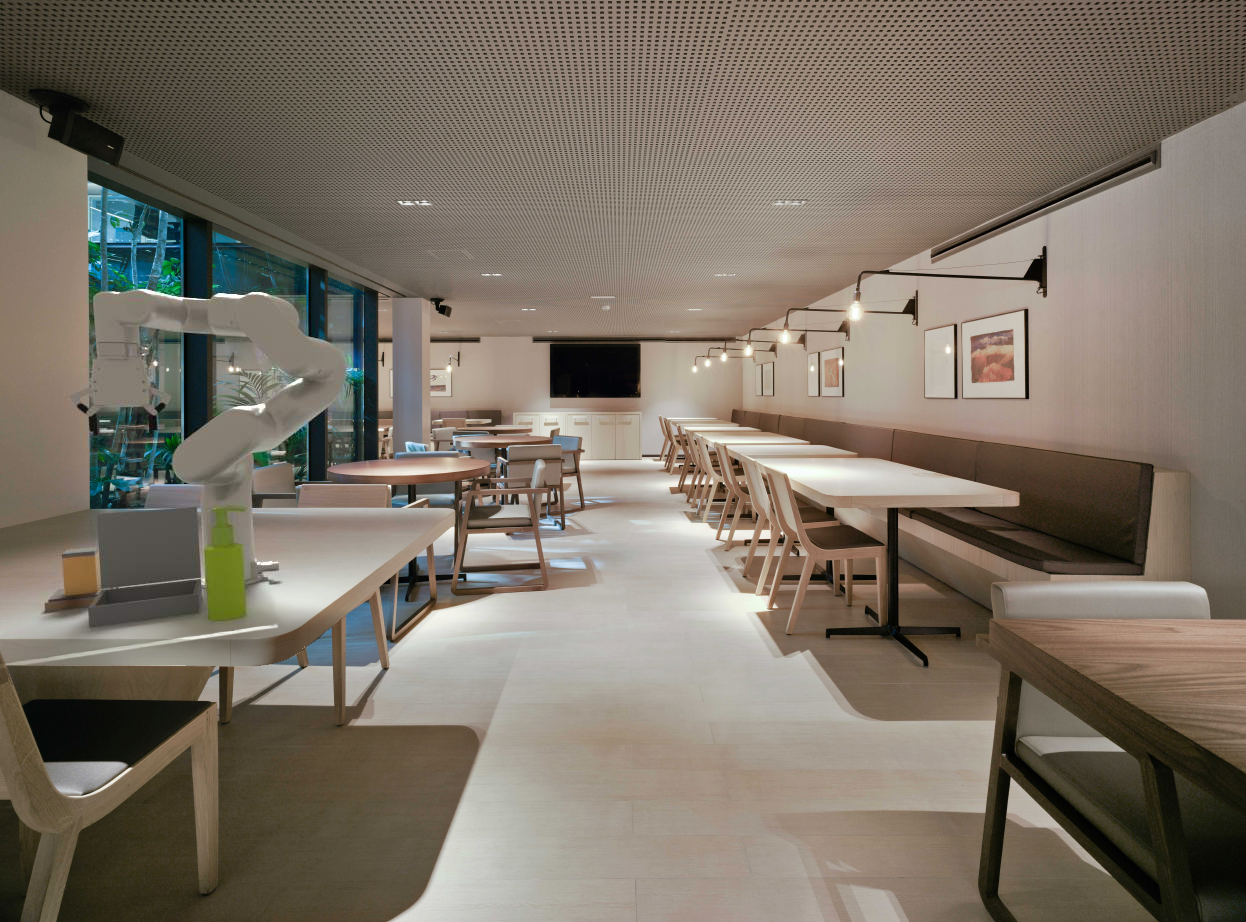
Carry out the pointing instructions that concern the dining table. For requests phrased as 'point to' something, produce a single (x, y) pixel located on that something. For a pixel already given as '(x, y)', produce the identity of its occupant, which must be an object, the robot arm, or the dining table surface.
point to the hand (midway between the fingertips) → (124, 434)
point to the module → (81, 571)
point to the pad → (70, 600)
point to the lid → (148, 546)
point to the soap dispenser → (225, 570)
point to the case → (145, 603)
